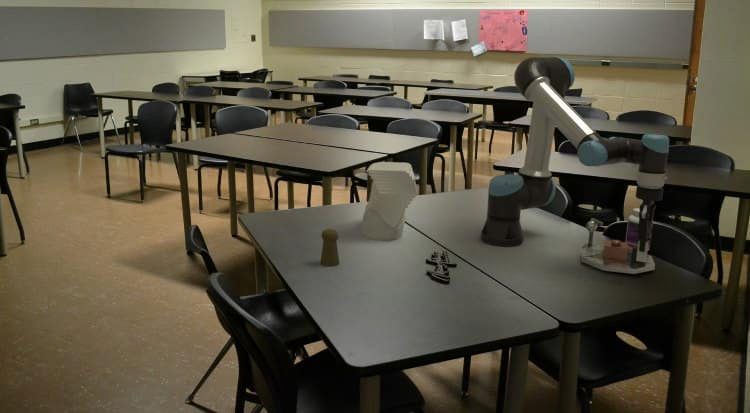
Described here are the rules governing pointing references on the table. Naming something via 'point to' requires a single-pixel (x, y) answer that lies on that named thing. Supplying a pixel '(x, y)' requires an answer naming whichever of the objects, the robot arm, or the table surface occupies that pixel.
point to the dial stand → (592, 230)
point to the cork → (329, 248)
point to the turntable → (616, 261)
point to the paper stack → (388, 200)
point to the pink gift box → (615, 250)
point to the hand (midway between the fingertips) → (641, 260)
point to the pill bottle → (634, 230)
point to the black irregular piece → (440, 267)
